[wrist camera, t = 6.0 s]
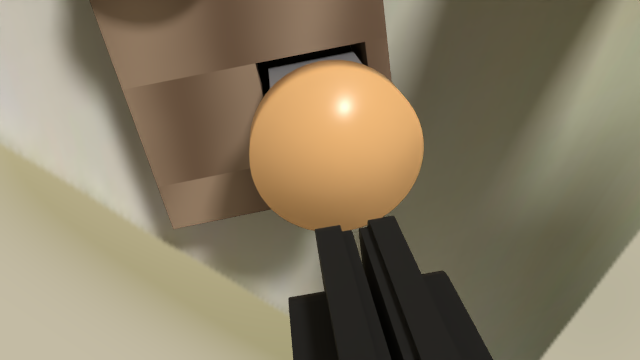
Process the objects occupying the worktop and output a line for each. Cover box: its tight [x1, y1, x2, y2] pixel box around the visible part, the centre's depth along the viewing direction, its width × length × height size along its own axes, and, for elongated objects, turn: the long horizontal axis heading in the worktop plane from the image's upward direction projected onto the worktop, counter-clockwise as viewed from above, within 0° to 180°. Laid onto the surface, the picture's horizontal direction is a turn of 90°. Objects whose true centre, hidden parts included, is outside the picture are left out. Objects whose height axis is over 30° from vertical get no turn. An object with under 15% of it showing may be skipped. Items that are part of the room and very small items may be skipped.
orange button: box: [249, 51, 424, 231], centre depth 21 cm, size 6×6×7 cm
